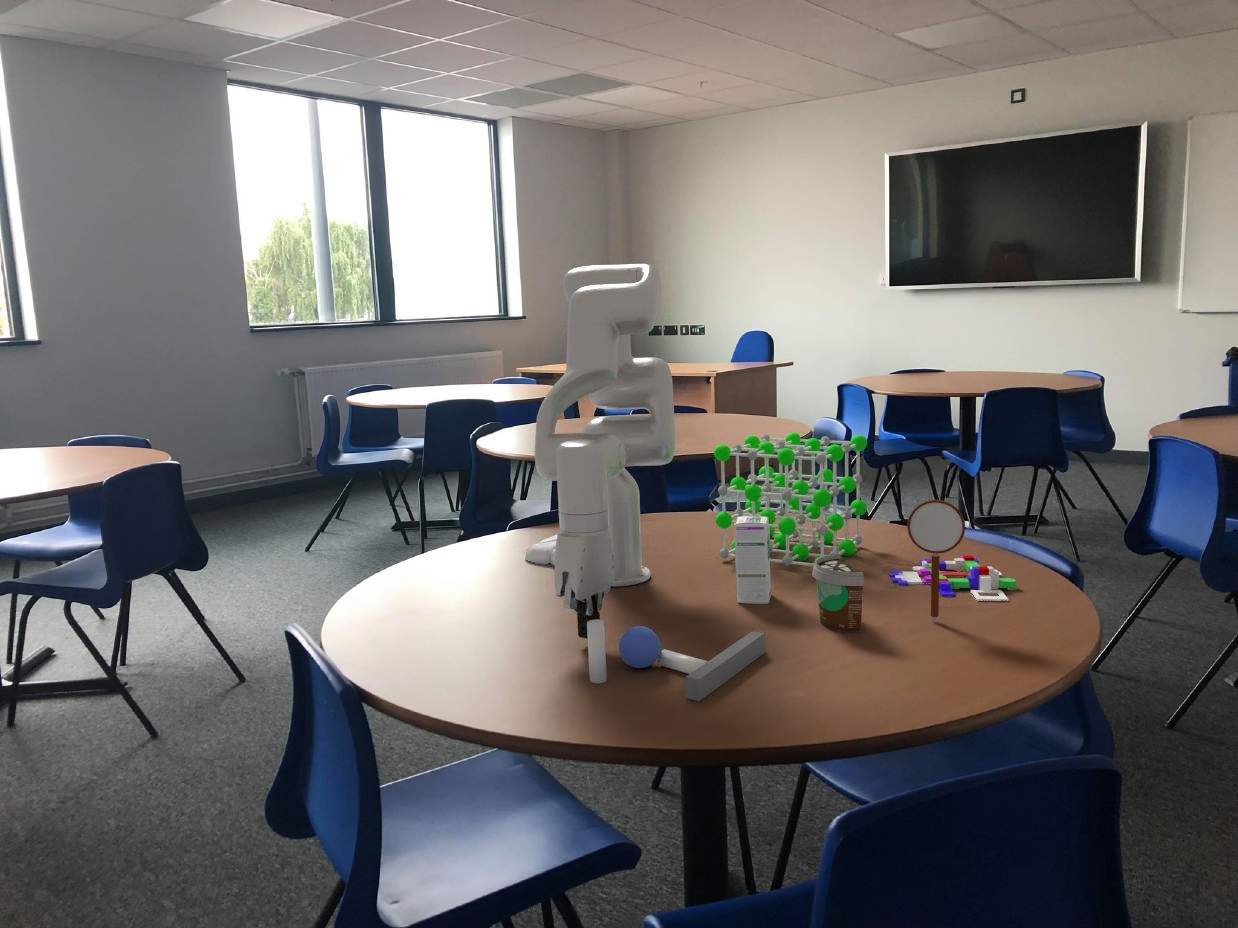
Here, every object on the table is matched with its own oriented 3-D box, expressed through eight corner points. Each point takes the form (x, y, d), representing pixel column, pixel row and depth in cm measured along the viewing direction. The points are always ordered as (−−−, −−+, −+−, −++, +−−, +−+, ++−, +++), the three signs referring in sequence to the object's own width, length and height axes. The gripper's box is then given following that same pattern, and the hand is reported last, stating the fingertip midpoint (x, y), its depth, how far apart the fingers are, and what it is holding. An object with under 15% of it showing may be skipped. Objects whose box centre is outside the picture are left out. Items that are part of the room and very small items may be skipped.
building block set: (883, 565, 185) (883, 543, 184) (991, 565, 182) (992, 543, 181) (901, 604, 161) (901, 579, 160) (1026, 605, 157) (1027, 580, 157)
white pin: (656, 664, 135) (703, 678, 129) (660, 648, 135) (707, 661, 129) (666, 666, 136) (712, 680, 131) (670, 650, 137) (716, 663, 131)
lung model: (515, 562, 197) (589, 546, 217) (578, 574, 187) (650, 557, 207) (516, 531, 196) (590, 518, 216) (579, 542, 186) (651, 527, 206)
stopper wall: (686, 698, 124) (685, 676, 123) (752, 650, 140) (752, 631, 140) (699, 701, 123) (698, 679, 122) (764, 652, 139) (764, 633, 138)
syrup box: (769, 604, 162) (768, 522, 159) (735, 603, 163) (733, 522, 160) (771, 594, 167) (769, 515, 165) (737, 593, 168) (736, 515, 166)
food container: (803, 612, 156) (802, 555, 155) (839, 610, 157) (839, 552, 155) (825, 637, 144) (825, 575, 143) (864, 635, 145) (864, 572, 143)
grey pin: (586, 681, 131) (583, 623, 129) (596, 675, 133) (593, 618, 131) (600, 684, 130) (597, 625, 128) (609, 678, 131) (607, 620, 130)
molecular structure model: (869, 546, 197) (869, 433, 194) (828, 576, 177) (827, 450, 173) (763, 535, 210) (761, 429, 206) (713, 562, 190) (710, 445, 186)
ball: (646, 682, 133) (622, 668, 138) (674, 652, 135) (650, 640, 140) (628, 654, 130) (604, 641, 135) (656, 624, 132) (632, 612, 137)
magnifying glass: (963, 622, 149) (965, 499, 145) (963, 625, 147) (965, 501, 144) (906, 618, 151) (907, 498, 148) (906, 621, 150) (907, 500, 147)
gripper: (592, 509, 150) (597, 619, 153) (533, 529, 138) (540, 648, 140) (631, 514, 146) (635, 626, 148) (574, 534, 133) (580, 656, 136)
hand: (589, 636), depth 144 cm, fingers closed
